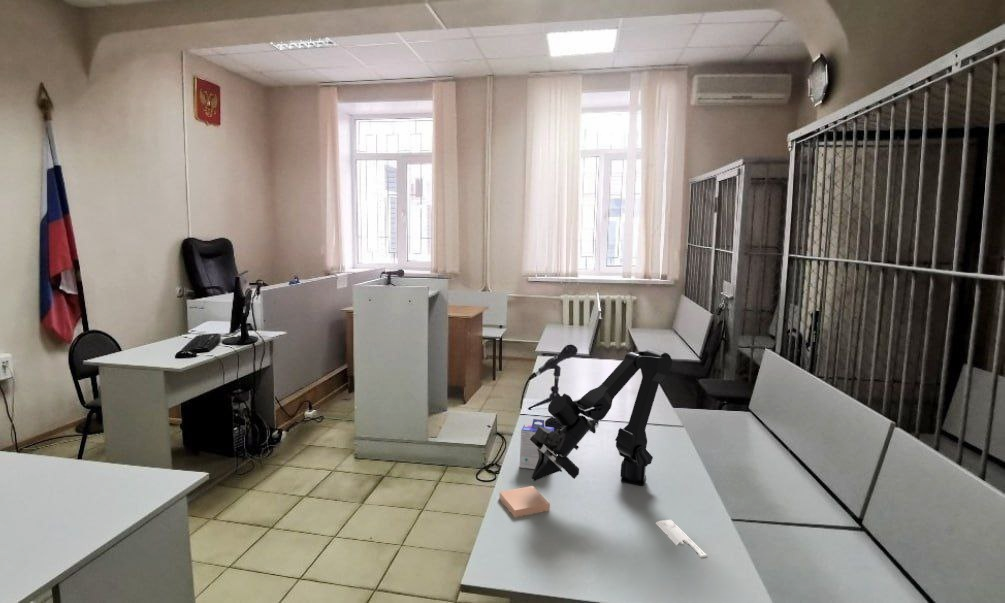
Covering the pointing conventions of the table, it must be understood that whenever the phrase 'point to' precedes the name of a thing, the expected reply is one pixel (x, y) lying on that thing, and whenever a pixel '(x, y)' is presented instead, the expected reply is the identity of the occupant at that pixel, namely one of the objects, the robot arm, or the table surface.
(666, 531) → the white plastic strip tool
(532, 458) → the ink cartridge box
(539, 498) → the tile
